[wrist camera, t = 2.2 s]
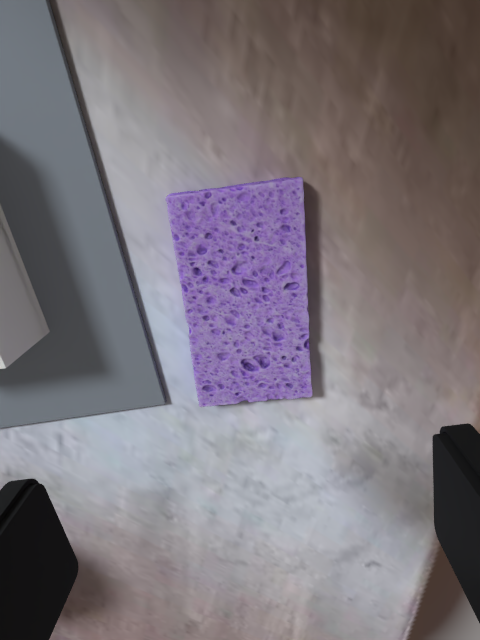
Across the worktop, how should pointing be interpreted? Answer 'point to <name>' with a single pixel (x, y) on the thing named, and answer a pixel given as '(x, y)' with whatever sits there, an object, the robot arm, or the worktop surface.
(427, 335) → the worktop surface
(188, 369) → the worktop surface
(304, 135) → the worktop surface
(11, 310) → the white rectangular box
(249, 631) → the worktop surface
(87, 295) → the grey mat
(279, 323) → the sponges
